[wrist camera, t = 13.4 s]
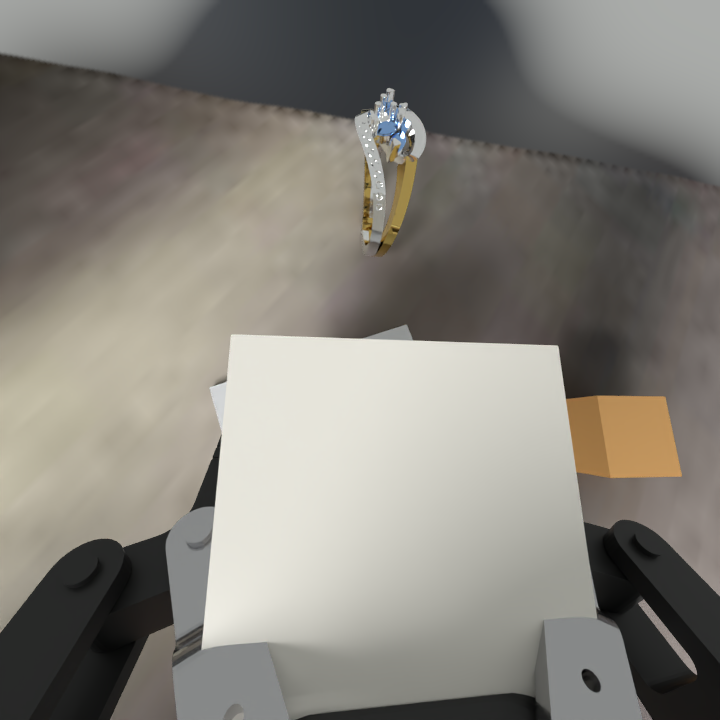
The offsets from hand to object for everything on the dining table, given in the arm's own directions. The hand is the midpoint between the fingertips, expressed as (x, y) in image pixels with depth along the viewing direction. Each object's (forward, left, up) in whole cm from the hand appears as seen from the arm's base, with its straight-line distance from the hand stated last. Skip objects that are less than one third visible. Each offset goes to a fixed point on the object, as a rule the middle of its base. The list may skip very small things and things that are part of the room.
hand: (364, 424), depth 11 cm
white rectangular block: (+2, -1, -5) cm, 6 cm away
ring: (-12, +5, -7) cm, 15 cm away
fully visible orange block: (+5, +13, -7) cm, 16 cm away
